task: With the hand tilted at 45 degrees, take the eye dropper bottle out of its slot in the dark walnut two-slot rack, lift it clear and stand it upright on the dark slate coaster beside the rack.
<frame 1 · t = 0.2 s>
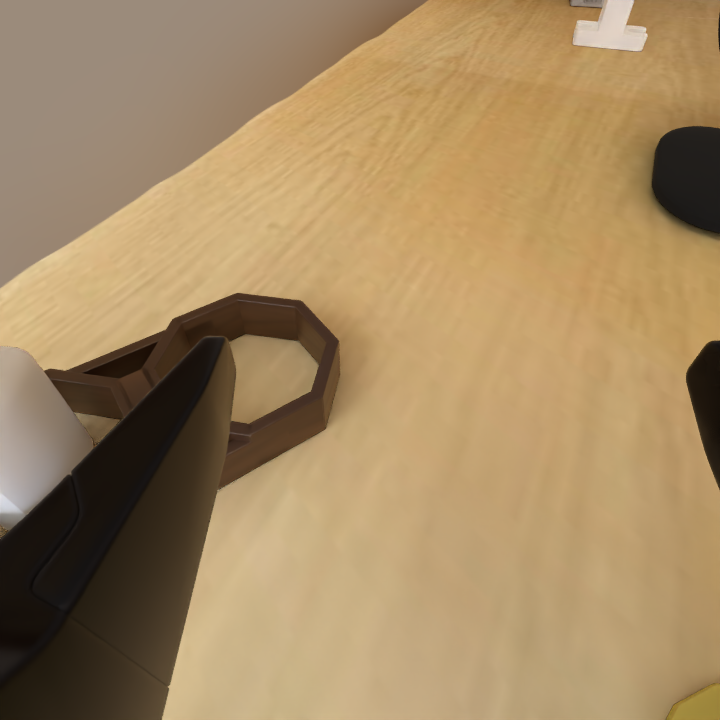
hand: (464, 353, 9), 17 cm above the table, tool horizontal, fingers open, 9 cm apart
eye dropper bottle: (57, 486, 26), resting in rack
white phone stand: (606, 44, 76), on the table
coffee box: (585, 2, 93), on the table
rack: (160, 432, 28), on the table
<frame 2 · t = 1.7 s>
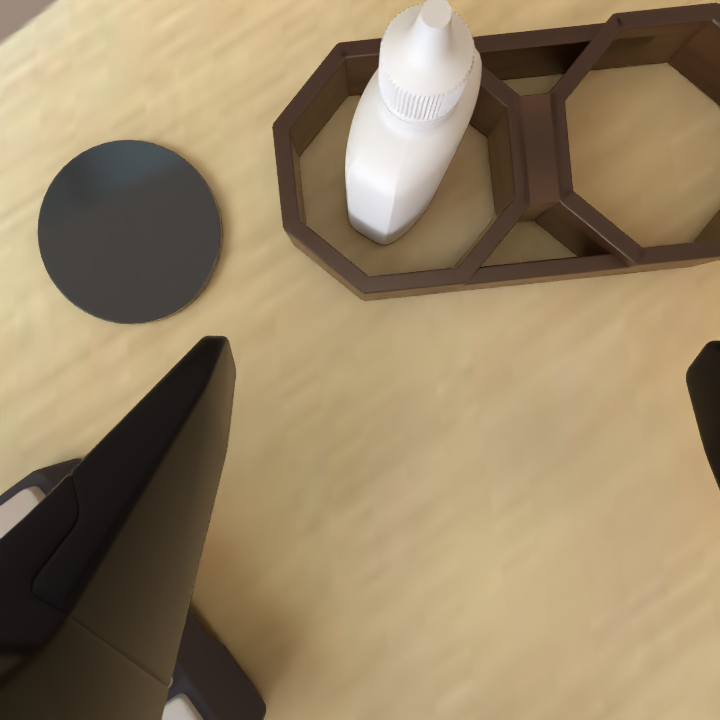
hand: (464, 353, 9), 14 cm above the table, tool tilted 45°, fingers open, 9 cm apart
eye dropper bottle: (396, 188, 23), resting in rack
coaster: (132, 234, 23), on the table
rack: (516, 174, 23), on the table
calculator: (86, 644, 24), on the table
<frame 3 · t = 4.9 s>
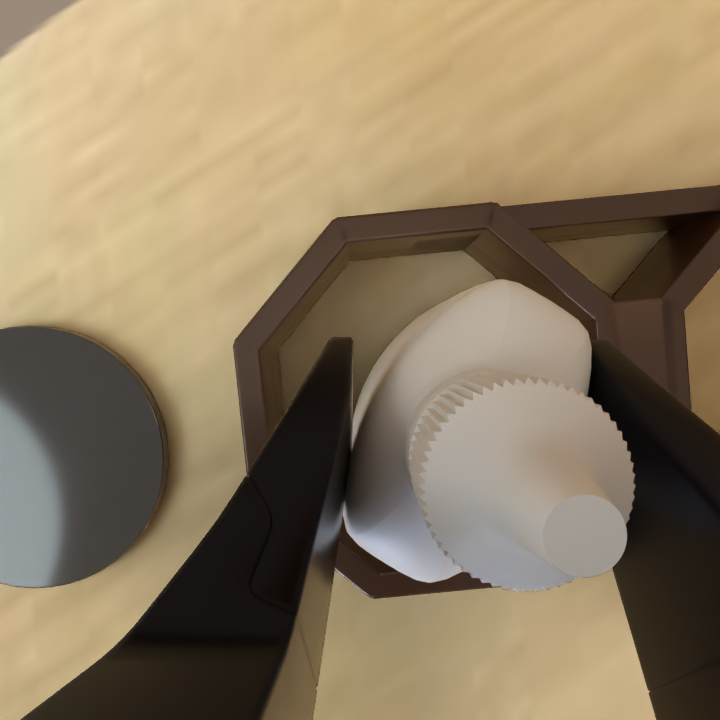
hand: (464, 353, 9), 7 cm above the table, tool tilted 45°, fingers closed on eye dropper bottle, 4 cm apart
eye dropper bottle: (418, 391, 16), resting in rack, touching gripper
coaster: (39, 455, 16), on the table
rack: (591, 375, 16), on the table
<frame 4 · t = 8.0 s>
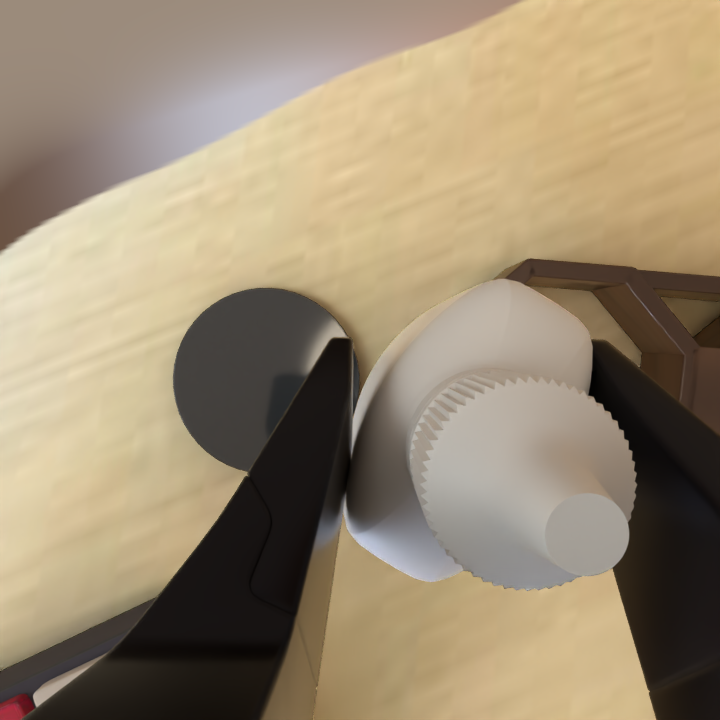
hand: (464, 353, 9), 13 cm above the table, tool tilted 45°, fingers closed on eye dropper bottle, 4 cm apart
eye dropper bottle: (419, 390, 16), point 6 cm above the table, touching gripper
coaster: (267, 381, 23), on the table
rack: (663, 394, 23), on the table
when the fingers open (7 cm above the table, at t = 11.2 s): eye dropper bottle stays where it is, resting on coaster.
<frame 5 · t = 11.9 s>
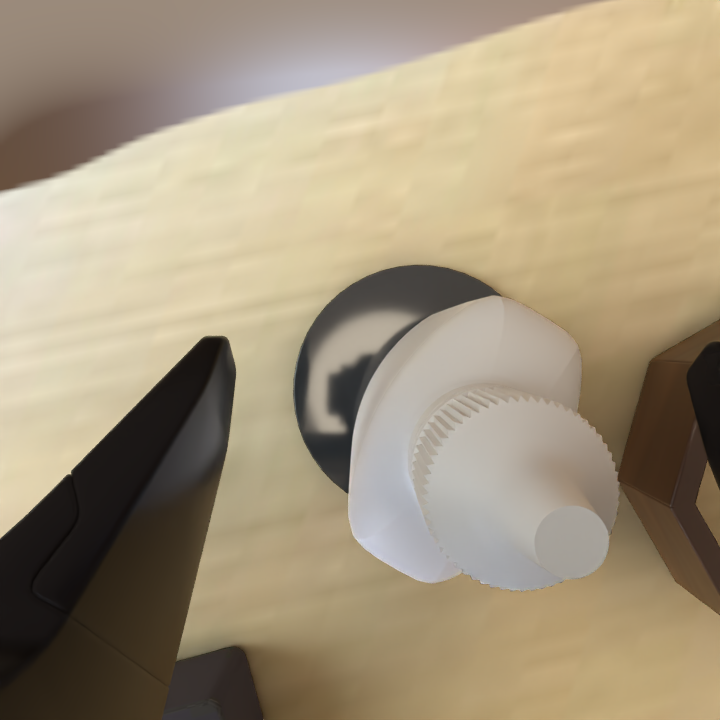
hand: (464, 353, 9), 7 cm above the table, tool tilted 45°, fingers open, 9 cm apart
eye dropper bottle: (418, 396, 17), resting on coaster
coaster: (417, 390, 17), on the table
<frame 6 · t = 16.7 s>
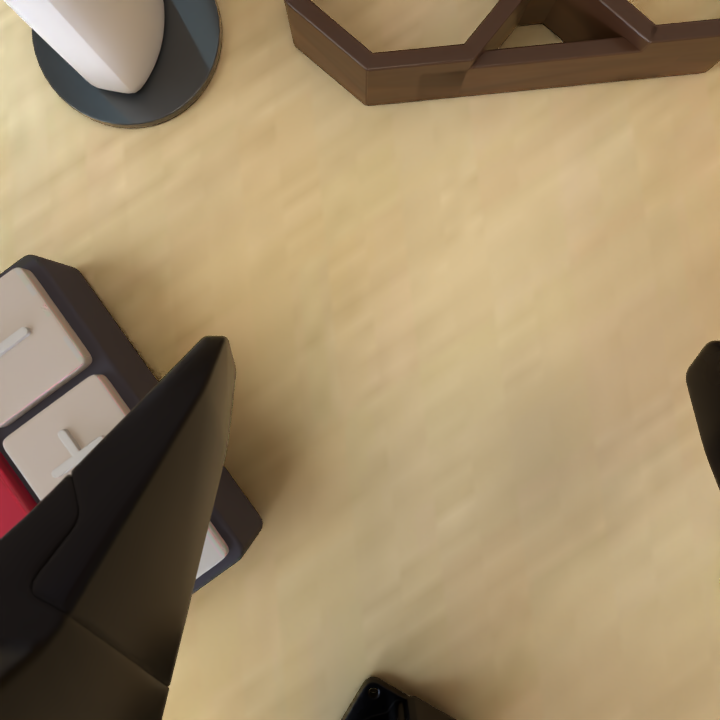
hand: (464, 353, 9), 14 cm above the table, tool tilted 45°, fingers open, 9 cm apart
eye dropper bottle: (129, 35, 22), resting on coaster
coaster: (129, 34, 23), on the table
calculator: (80, 461, 23), on the table
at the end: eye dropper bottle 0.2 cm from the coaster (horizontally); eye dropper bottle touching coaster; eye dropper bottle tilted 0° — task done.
